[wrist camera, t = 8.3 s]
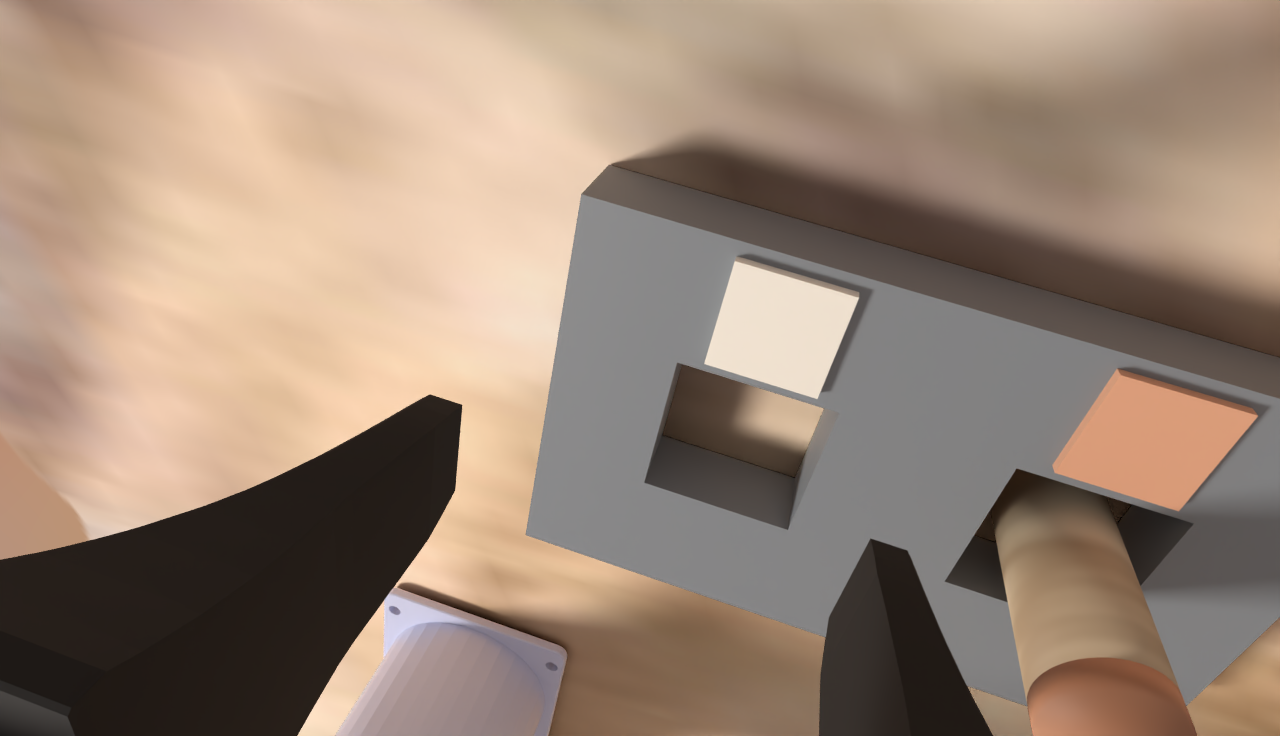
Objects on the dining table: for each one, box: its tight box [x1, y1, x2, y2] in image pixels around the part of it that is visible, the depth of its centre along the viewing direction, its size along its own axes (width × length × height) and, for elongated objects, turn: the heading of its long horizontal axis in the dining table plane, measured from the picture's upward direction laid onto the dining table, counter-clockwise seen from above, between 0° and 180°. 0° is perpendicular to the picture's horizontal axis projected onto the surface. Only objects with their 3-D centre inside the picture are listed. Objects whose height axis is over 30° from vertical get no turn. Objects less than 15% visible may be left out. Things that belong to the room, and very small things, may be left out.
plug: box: [990, 469, 1197, 736], centre depth 19 cm, size 3×3×8 cm
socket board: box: [526, 165, 1280, 706], centre depth 22 cm, size 12×20×3 cm, turn 78°
